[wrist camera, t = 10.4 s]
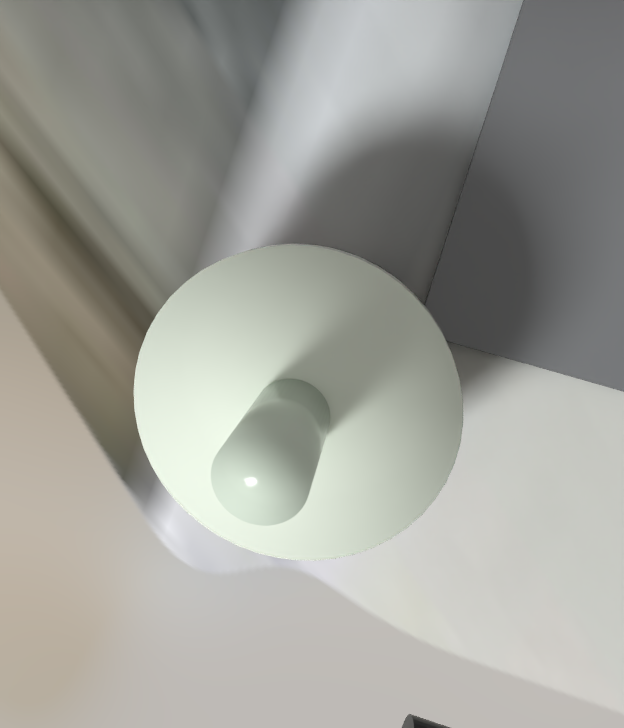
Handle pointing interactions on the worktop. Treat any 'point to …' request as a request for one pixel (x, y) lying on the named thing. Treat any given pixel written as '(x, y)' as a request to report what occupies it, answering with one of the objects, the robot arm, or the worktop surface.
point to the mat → (545, 202)
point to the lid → (299, 402)
